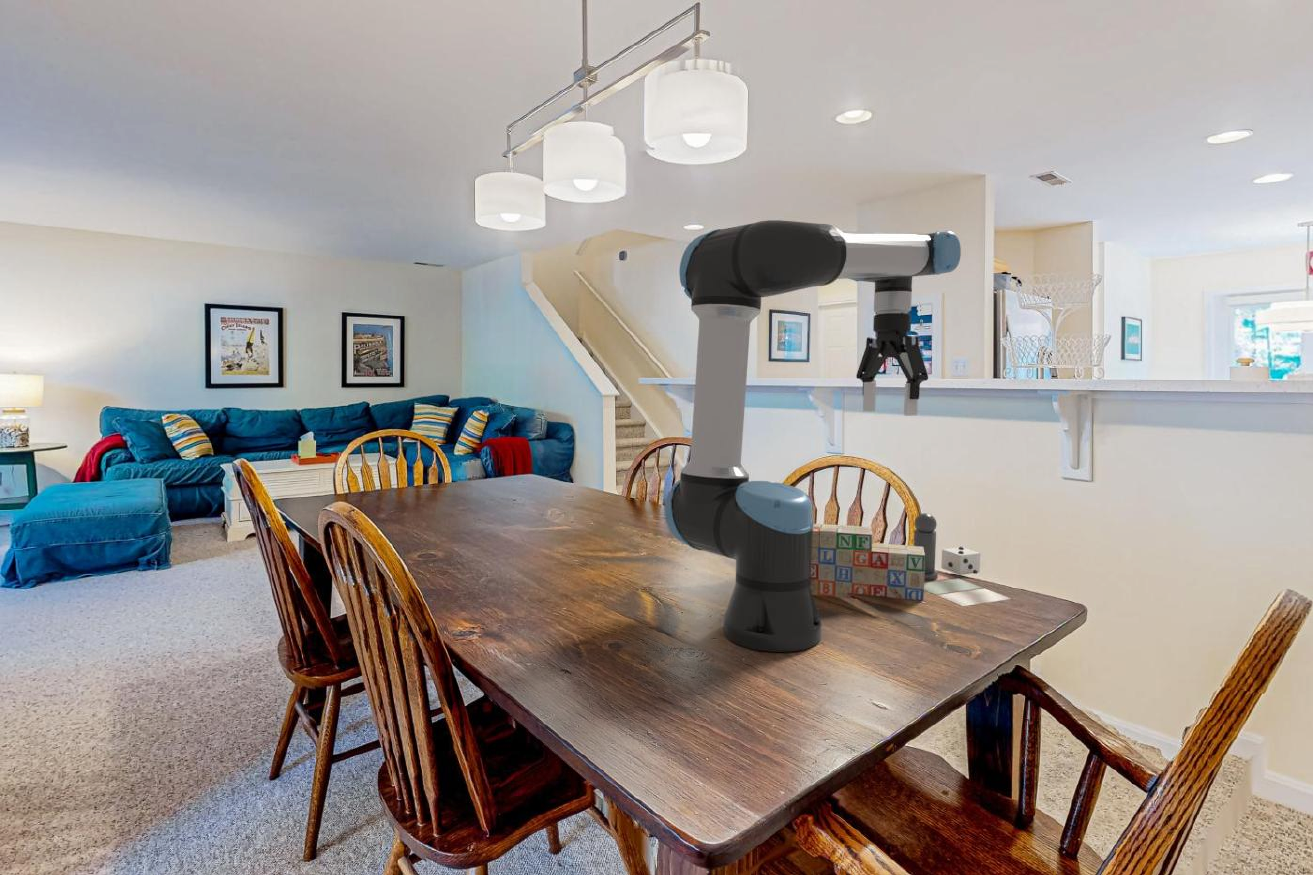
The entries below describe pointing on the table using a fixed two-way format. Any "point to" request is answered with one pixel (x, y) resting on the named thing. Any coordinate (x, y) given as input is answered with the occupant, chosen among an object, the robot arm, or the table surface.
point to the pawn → (927, 542)
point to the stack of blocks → (863, 564)
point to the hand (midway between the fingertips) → (888, 413)
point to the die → (960, 560)
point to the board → (961, 585)
